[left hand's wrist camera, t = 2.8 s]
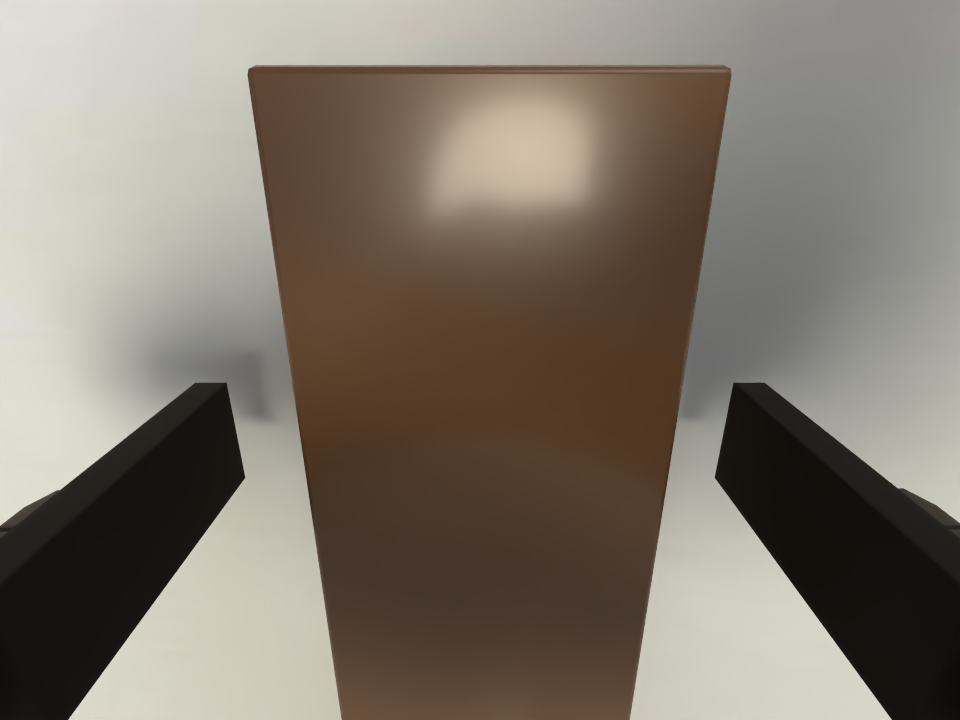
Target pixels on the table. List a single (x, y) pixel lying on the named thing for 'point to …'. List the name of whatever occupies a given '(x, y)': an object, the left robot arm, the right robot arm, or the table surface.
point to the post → (487, 364)
